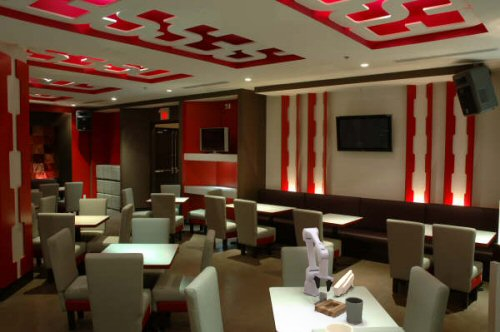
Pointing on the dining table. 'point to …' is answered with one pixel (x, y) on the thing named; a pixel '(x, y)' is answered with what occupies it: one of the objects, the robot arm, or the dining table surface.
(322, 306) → the oak well block
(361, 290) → the dining table surface
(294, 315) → the dining table surface
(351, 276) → the shelf bracket
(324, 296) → the steel bracket
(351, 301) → the gray cup
